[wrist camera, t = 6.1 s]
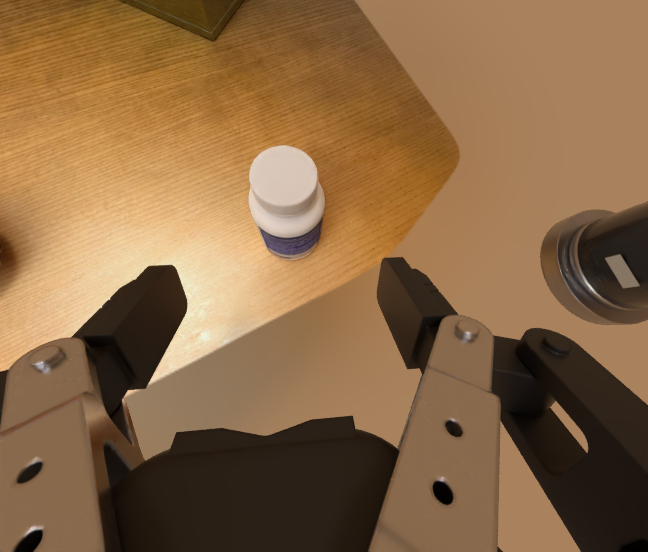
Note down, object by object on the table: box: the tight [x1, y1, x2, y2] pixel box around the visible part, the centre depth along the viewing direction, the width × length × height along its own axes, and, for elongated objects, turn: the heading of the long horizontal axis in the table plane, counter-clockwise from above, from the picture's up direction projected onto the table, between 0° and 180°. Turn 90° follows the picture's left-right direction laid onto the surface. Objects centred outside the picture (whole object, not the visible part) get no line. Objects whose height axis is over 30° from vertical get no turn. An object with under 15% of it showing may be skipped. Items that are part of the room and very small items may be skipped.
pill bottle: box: [248, 146, 325, 260], centre depth 19 cm, size 5×5×9 cm
